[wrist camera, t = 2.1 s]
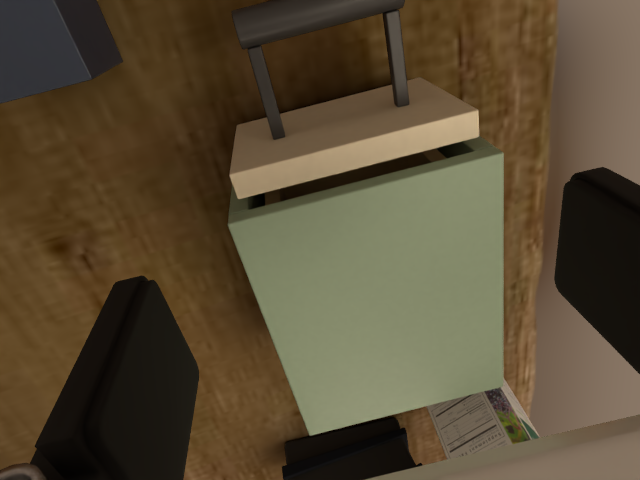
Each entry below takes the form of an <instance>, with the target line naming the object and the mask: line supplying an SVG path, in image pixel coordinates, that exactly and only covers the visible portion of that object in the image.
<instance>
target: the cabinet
mask: <svg viewBox="0 0 640 480" xmlns="http://www.w3.org/2000/svg"><path fill="white" fill-rule="evenodd" d="M436 149H437V150H438V151H439V152H440V153H441V154H442V155H444V156H445V157H446V158H447V159H443V160H439V161H435V162H431V163H428V164H424V165H420V166H416V167H412V168H408V169H404V170H401V171H397V172H393V173H389V174H385V175H381V176H378V177H374V178H370V179H366V180H362V181H358V182H354V183H351V184H347V185H343V186H339V187H335V188H331V189H327V190H324V191H320V192H316V193H312V194H308V195H304V196H301V197H297V198H293V199H289V200H285V201H281V202H277V203H274V204H270V205H266V206H265V193H261V194H258V195H254V196H250V197H246V198H242V199H238V198H237V196H236V193H235V190H234V187H233V185H232V191H231V199H230V207H229V218H228V227H229V230H230V233H231V235H232V238H233V240H234V243H235V245H236V248H237V251H238V253H239V256H240V258H241V261H242V263H243V266H244V269H245V271H246V274H247V276H248V279H249V281H250V284H251V287H252V289H253V292H254V294H255V297H256V299H257V302H258V305H259V307H260V310H261V312H262V315H263V317H264V320H265V323H266V325H267V328H268V330H269V333H270V335H271V338H272V341H273V343H274V346H275V348H276V351H277V353H278V356H279V359H280V361H281V364H282V366H283V369H284V371H285V374H286V377H287V379H288V382H289V384H290V387H291V389H292V392H293V395H294V397H295V400H296V402H297V405H298V407H299V410H300V413H301V415H302V418H303V420H304V423H305V425H306V428H307V431H308V433H309V435H310V436H311V435H315V434H319V433H323V432H327V431H331V430H335V429H339V428H343V427H346V426H350V425H354V424H358V423H362V422H366V421H370V420H374V419H378V418H382V417H386V416H390V415H393V414H397V413H401V412H405V411H409V410H413V409H417V408H421V407H425V406H429V405H433V404H437V403H441V402H444V401H448V400H452V399H456V398H460V397H464V396H468V395H472V394H476V393H480V392H484V391H488V390H491V389H495V388H499V387H503V197H504V154H503V152H502V151H500V150H499V149H497V148H496V147H494V146H493V145H492V144H490V143H489V142H487V141H486V140H485V139H483V138H482V137H480V136H479V137H477V138H473V139H469V140H465V141H462V142H458V143H454V144H450V145H446V146H442V147H438V148H436Z"/></svg>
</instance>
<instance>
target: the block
mask: <svg viewBox="0 0 640 480" xmlns="http://www.w3.org/2000/svg"><path fill="white" fill-rule="evenodd" d="M121 62H123V60H122V58H121V56H120V53H119V51H118V49H117V46H116V44H115V42H114V40H113V37H112V35H111V33H110V30H109V28H108V26H107V24H106V21H105V19H104V17H103V14H102V12H101V10H100V7H99V5H98V3H97V1H96V0H0V103H4V102H8V101H12V100H16V99H19V98H23V97H27V96H31V95H35V94H38V93H42V92H46V91H50V90H54V89H57V88H61V87H65V86H69V85H73V84H77V83H80V82H84V81H88V80H92V79H93V78H95V77H97V76H99V75H100V74H102V73H104V72H106V71H107V70H109V69H111V68H113V67H114V66H116V65H118V64H120V63H121Z"/></svg>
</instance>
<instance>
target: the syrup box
mask: <svg viewBox="0 0 640 480" xmlns="http://www.w3.org/2000/svg"><path fill="white" fill-rule="evenodd" d="M427 409H428V411H429V414H430V417H431V419H432V422H433V424H434V426H435V429H436V432H437V434H438V437H439V440H440V442H441V444H442V447H443V449H444V452H445V455H446V457H447V460H448V459H453V458H457V457H461V456H465V455H469V454H474V453H478V452H482V451H486V450H491V449H495V448H499V447H503V446H507V445H512V444H516V443H520V442H524V441H529V440H533V439H537V438H540V437H539V435H538V433H537V432H536V430H535V428H534V427H533V425H532V423H531V421H530V420H529V418H528V417H527V415H526V413H525V412H524V410H523V408H522V407H521V405H520V403H519V402H518V400H517V398H516V397H515V395H514V394H513V392H512V390H511V389H510V387H509V386H508V384H507V382H506V381H505V379H504V378H503V387H499V388H495V389H491V390H488V391H484V392H480V393H476V394H472V395H468V396H464V397H460V398H456V399H452V400H448V401H444V402H441V403H437V404H433V405H429V406H427Z"/></svg>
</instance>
